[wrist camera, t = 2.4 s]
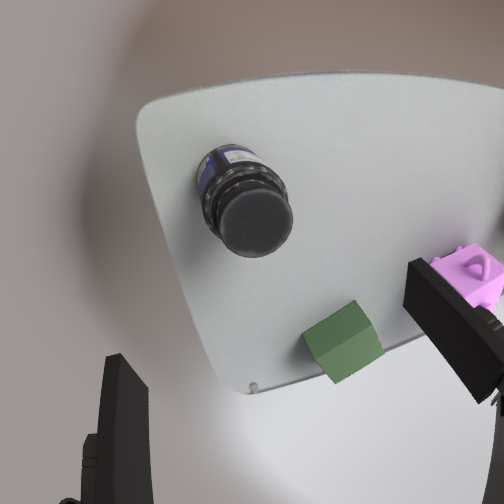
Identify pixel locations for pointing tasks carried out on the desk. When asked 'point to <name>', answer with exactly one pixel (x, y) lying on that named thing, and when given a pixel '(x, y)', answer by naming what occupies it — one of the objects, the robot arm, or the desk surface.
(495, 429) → the robot arm
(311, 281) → the desk surface
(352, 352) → the block
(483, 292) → the teapot
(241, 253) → the pill bottle
